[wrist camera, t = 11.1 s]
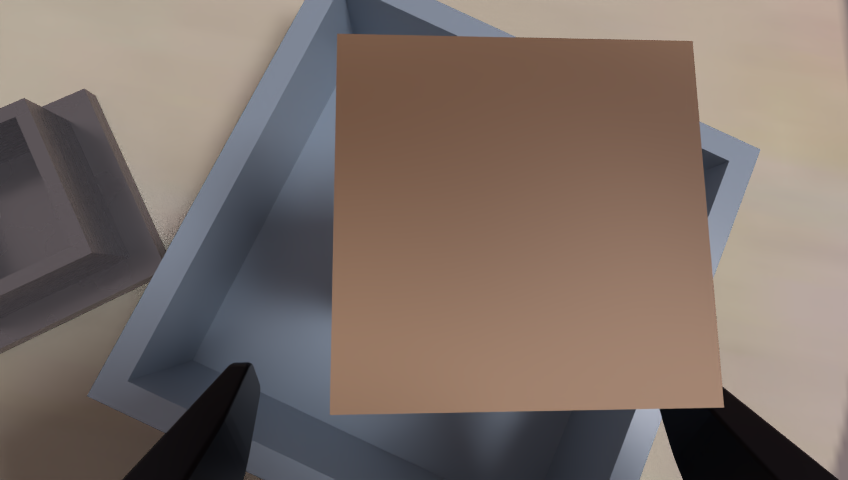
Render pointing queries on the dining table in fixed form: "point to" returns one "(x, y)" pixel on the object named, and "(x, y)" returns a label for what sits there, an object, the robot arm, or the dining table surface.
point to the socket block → (66, 217)
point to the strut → (519, 227)
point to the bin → (312, 294)
